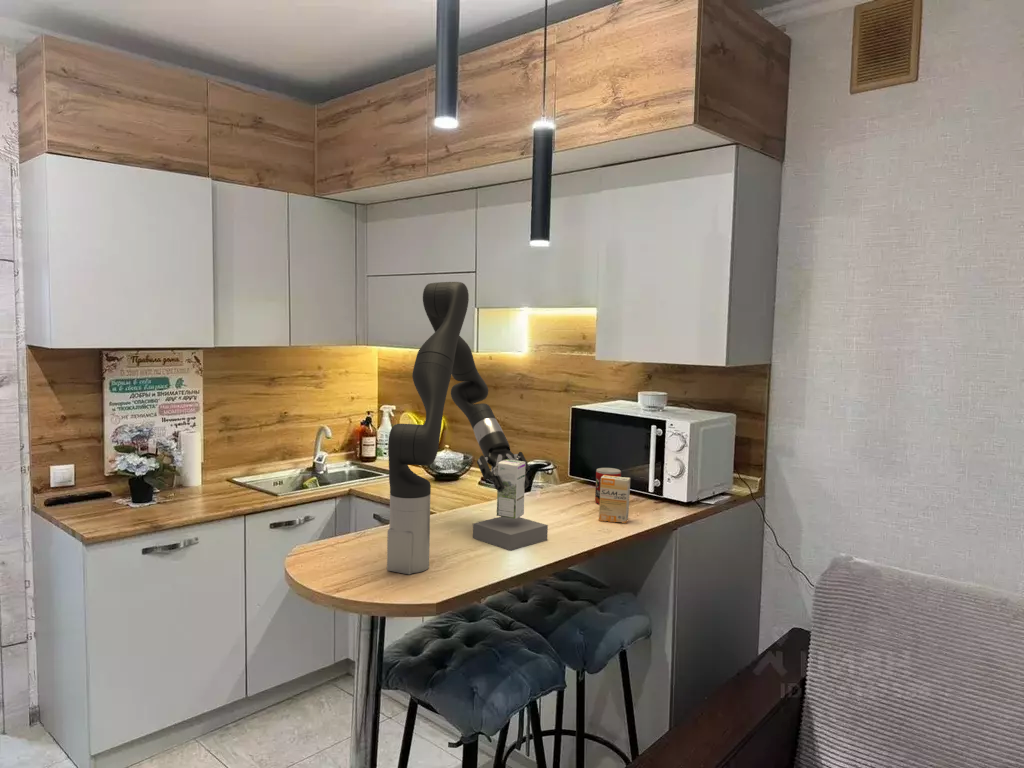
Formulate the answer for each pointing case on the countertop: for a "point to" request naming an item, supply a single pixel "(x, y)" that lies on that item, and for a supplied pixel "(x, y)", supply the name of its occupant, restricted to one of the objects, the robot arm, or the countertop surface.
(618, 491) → the supplement box
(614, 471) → the canned food
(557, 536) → the countertop surface
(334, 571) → the countertop surface
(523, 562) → the countertop surface
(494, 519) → the plate
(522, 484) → the syrup box
